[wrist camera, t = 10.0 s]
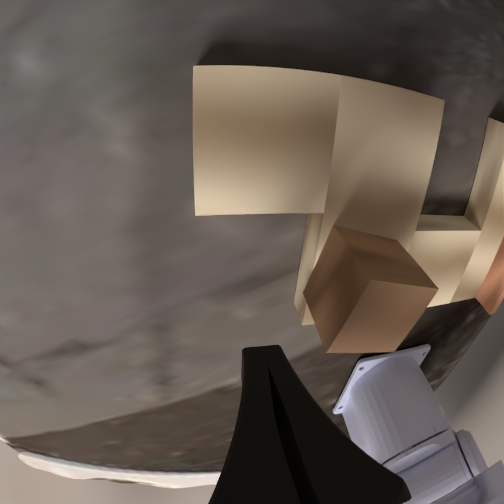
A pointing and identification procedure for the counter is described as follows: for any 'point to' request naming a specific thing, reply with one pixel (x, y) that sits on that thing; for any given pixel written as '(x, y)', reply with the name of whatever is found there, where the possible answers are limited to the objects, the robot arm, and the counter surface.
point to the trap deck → (345, 170)
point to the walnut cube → (365, 292)
